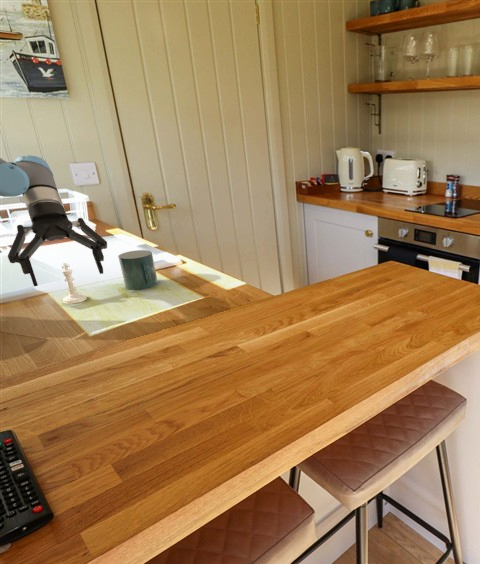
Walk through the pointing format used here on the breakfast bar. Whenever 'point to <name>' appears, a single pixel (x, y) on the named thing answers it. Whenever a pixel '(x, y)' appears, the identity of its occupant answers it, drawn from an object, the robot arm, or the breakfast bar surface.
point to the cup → (138, 269)
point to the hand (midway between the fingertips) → (69, 277)
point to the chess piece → (71, 288)
